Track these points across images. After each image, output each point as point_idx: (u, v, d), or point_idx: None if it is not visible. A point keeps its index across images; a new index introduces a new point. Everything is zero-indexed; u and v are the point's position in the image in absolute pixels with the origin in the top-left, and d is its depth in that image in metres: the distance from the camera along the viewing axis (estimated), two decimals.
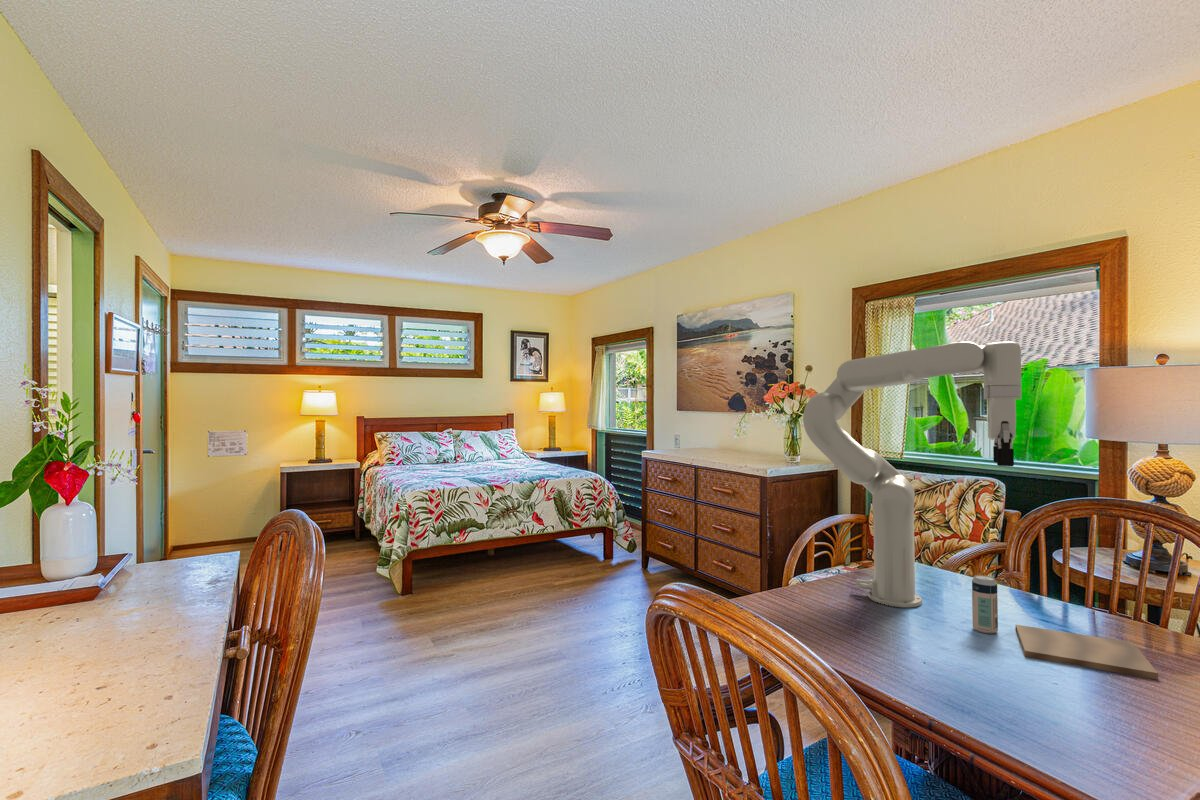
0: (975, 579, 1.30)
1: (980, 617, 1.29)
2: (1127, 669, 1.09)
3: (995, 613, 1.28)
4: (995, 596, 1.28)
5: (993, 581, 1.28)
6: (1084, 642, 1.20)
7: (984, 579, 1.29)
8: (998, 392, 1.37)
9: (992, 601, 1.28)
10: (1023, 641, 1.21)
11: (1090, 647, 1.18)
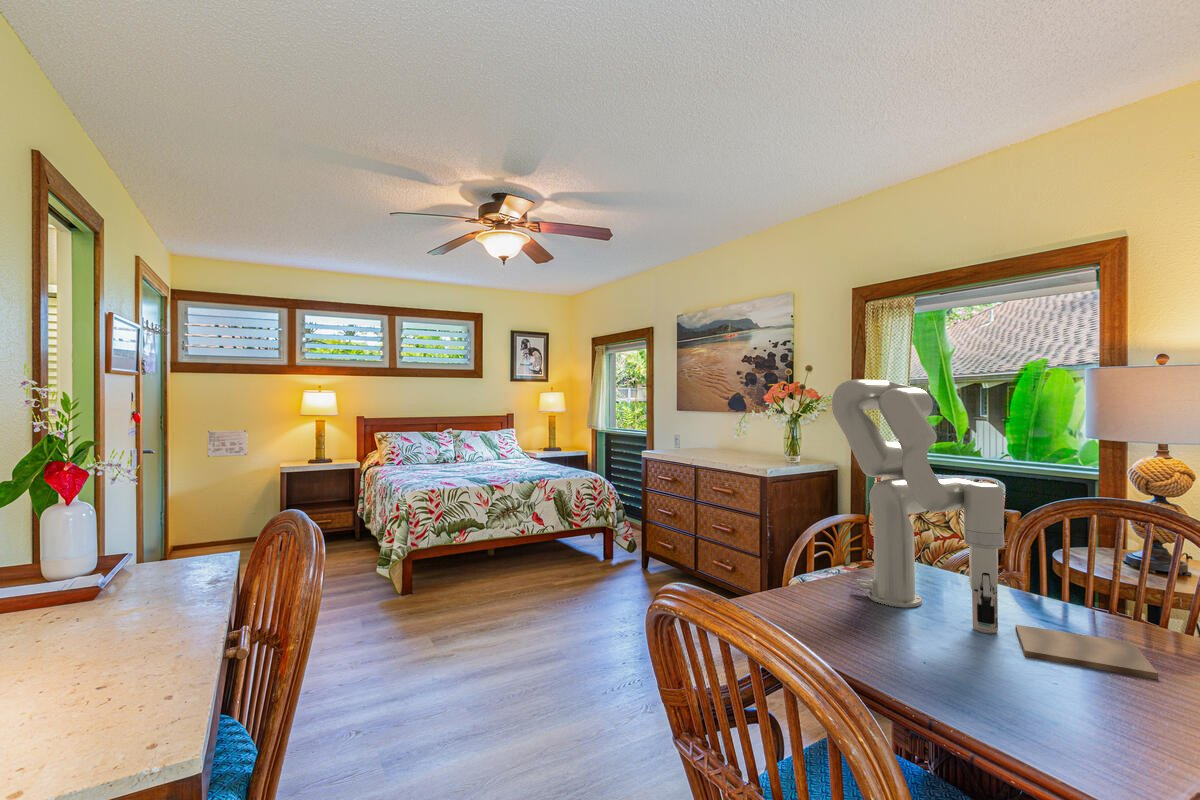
0: None
1: None
2: (1127, 669, 1.09)
3: (995, 613, 1.28)
4: (995, 596, 1.28)
5: None
6: (1084, 642, 1.20)
7: None
8: (979, 540, 1.28)
9: None
10: (1023, 641, 1.21)
11: (1090, 647, 1.18)
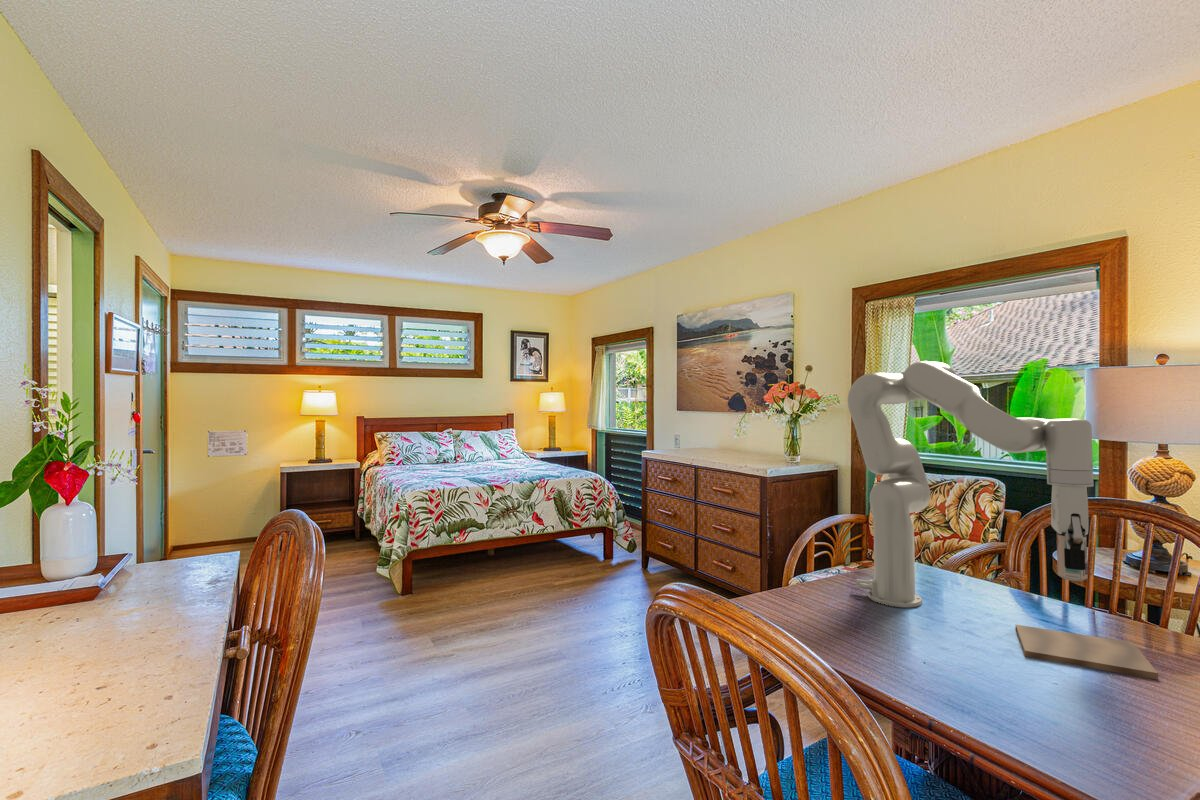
0: None
1: None
2: (1127, 669, 1.09)
3: None
4: (1084, 540, 1.18)
5: None
6: (1084, 642, 1.20)
7: None
8: (1066, 478, 1.17)
9: None
10: (1023, 641, 1.21)
11: (1090, 647, 1.18)
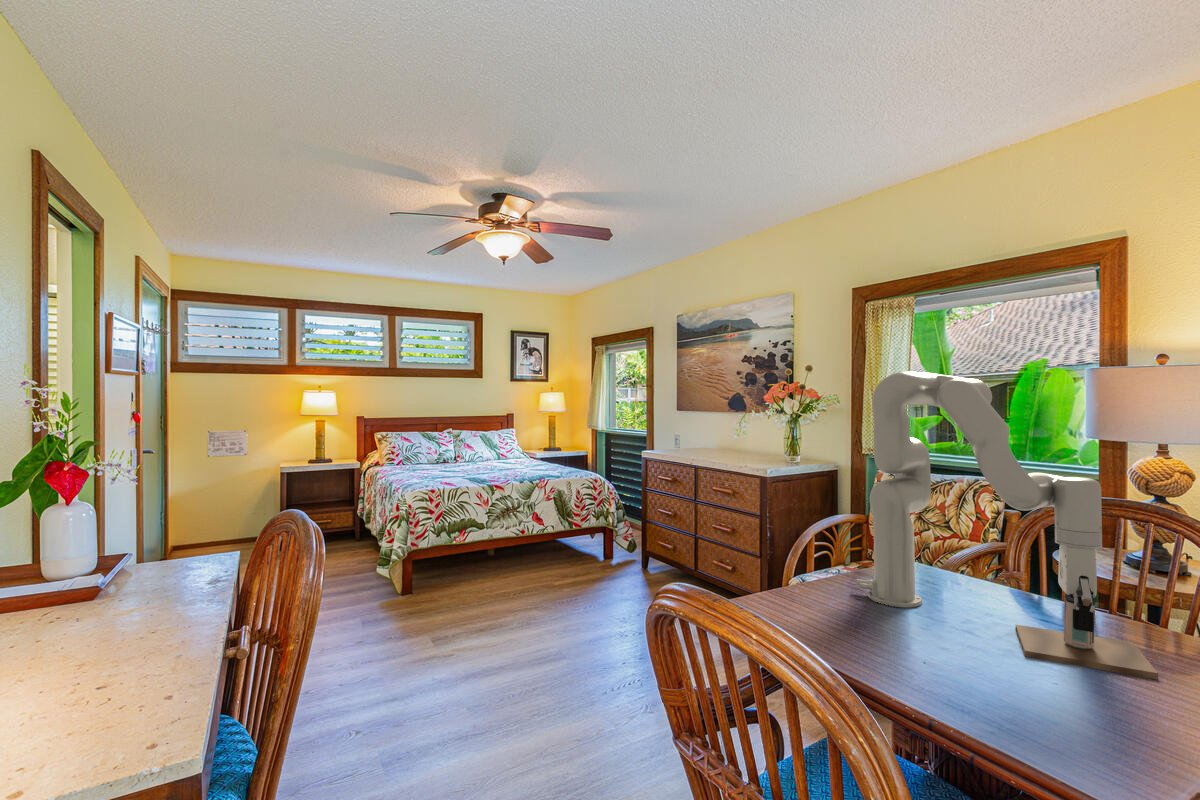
0: None
1: (1075, 631, 1.17)
2: (1127, 669, 1.09)
3: None
4: (1093, 609, 1.17)
5: None
6: None
7: None
8: (1075, 539, 1.16)
9: None
10: (1023, 641, 1.21)
11: None
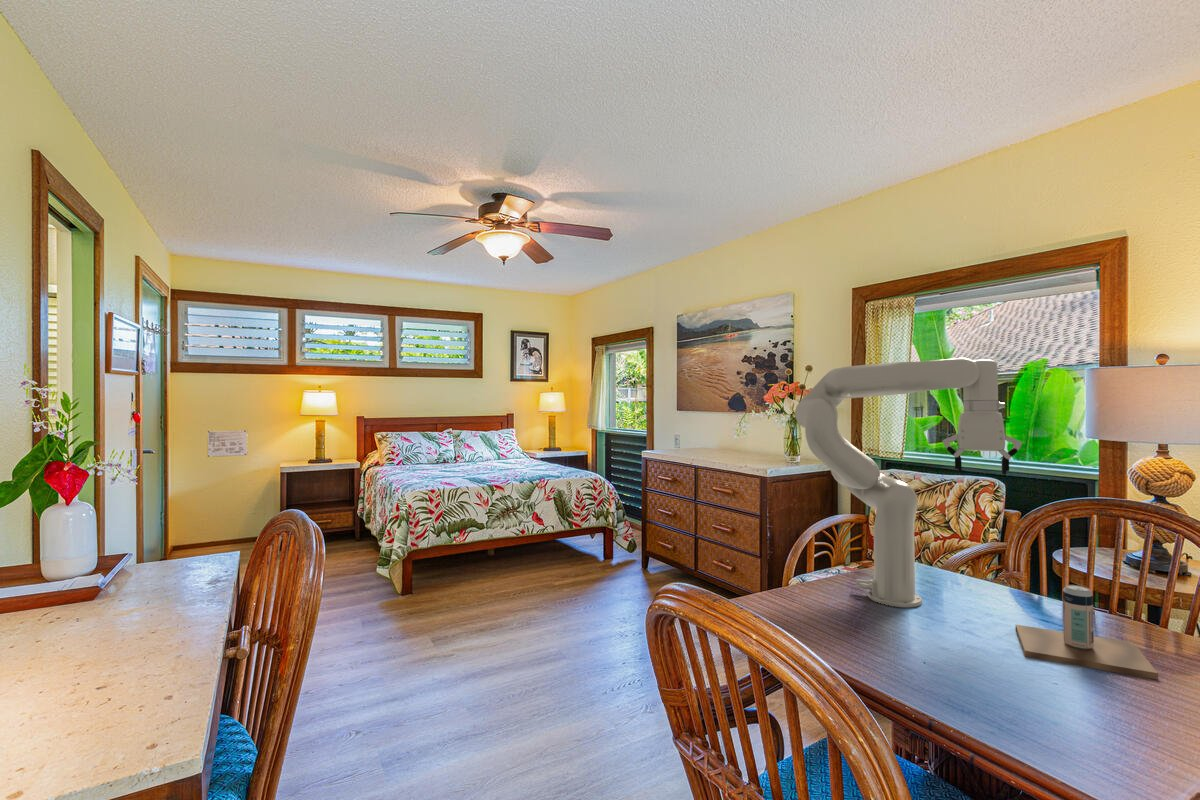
0: (1067, 589, 1.19)
1: (1074, 631, 1.17)
2: (1127, 669, 1.09)
3: (1091, 627, 1.17)
4: (1091, 608, 1.17)
5: (1088, 592, 1.17)
6: None
7: (1078, 589, 1.18)
8: None
9: (1088, 614, 1.17)
10: (1023, 641, 1.21)
11: None
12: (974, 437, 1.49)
